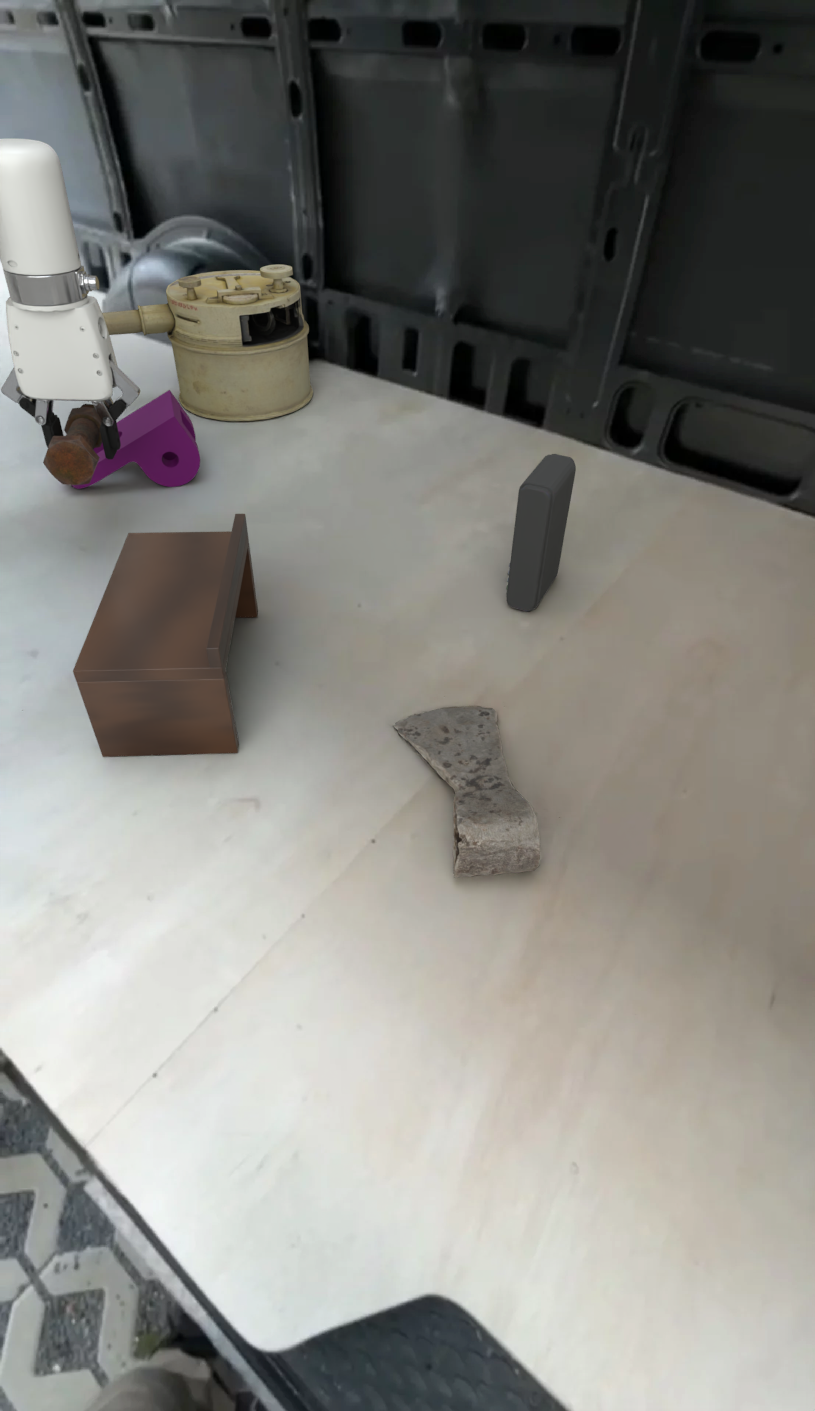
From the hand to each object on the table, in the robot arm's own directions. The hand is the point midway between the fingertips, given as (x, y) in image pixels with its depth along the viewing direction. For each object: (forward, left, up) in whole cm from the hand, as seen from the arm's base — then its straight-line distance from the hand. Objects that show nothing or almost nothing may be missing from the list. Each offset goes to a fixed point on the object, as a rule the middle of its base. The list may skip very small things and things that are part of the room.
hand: (85, 452), depth 94 cm
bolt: (0, 0, -1) cm, 1 cm away
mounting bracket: (+1, +15, -10) cm, 18 cm away
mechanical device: (+8, +42, -10) cm, 44 cm away
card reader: (+52, -16, -10) cm, 55 cm away
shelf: (+15, -30, -10) cm, 35 cm away
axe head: (+41, -46, -10) cm, 62 cm away
